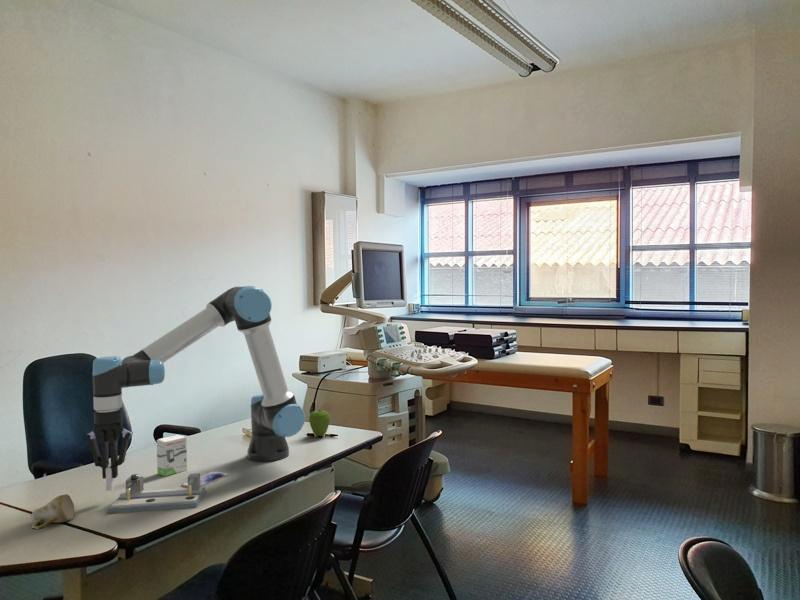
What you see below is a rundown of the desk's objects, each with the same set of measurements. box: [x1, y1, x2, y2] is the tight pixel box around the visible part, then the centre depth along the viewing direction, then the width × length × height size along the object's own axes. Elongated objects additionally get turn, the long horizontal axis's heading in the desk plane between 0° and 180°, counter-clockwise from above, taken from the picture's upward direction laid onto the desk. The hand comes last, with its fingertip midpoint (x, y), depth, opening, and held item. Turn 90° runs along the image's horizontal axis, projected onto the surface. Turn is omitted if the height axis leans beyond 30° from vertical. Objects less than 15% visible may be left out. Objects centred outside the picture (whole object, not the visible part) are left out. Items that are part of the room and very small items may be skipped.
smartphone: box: [180, 470, 230, 488], centre depth 188 cm, size 7×1×15 cm
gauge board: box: [107, 473, 207, 514], centre depth 170 cm, size 24×13×6 cm, turn 98°
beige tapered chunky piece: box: [30, 493, 75, 529], centre depth 156 cm, size 8×10×10 cm
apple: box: [308, 409, 331, 437], centre depth 241 cm, size 9×8×12 cm
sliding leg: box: [125, 473, 145, 501], centre depth 169 cm, size 4×8×5 cm, turn 8°
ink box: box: [156, 434, 188, 477], centre depth 197 cm, size 9×5×12 cm, turn 141°
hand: (110, 488), depth 170 cm, fingers closed
